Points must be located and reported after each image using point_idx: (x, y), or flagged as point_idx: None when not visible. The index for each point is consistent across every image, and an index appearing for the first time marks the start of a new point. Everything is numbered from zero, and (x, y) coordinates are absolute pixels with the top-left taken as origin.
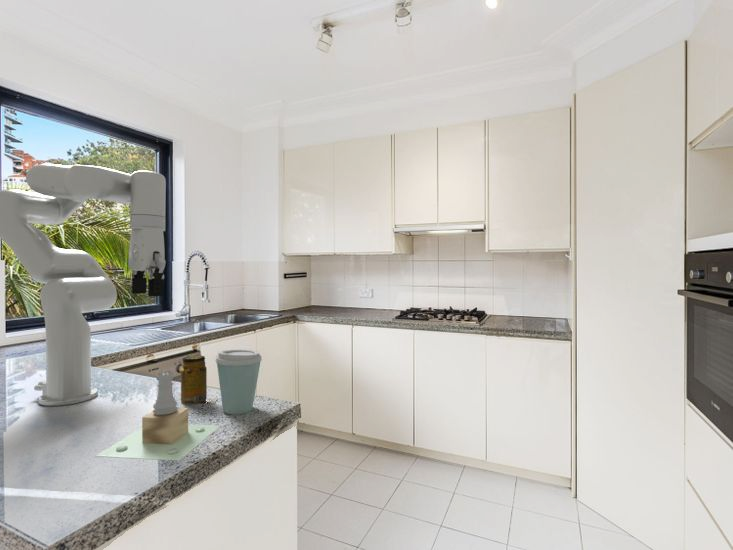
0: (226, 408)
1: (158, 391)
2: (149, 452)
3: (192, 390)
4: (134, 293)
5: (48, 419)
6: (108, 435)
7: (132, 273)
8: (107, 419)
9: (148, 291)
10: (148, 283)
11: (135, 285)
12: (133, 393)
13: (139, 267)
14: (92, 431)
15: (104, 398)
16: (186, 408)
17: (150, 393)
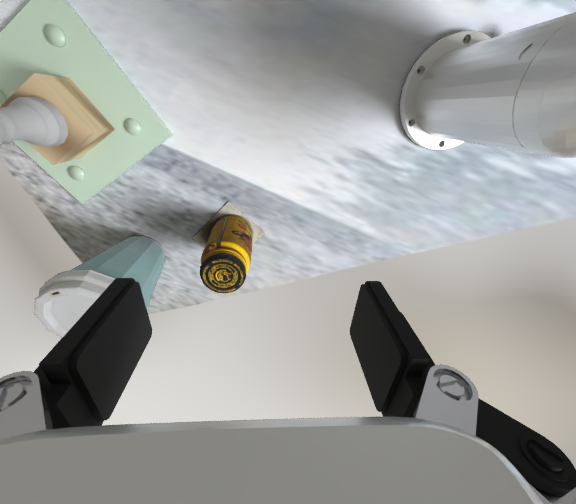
0: (127, 239)
1: (8, 109)
2: (15, 66)
3: (210, 234)
4: (365, 286)
5: (352, 10)
6: (172, 61)
7: (469, 399)
8: (261, 97)
9: (110, 292)
10: (78, 333)
11: (376, 323)
12: (368, 192)
13: (44, 467)
14: (214, 48)
15: (386, 145)
16: (50, 161)
17: (343, 211)
